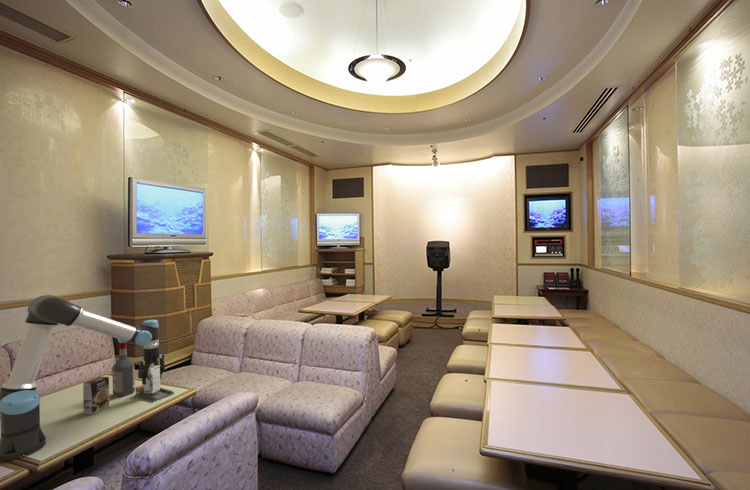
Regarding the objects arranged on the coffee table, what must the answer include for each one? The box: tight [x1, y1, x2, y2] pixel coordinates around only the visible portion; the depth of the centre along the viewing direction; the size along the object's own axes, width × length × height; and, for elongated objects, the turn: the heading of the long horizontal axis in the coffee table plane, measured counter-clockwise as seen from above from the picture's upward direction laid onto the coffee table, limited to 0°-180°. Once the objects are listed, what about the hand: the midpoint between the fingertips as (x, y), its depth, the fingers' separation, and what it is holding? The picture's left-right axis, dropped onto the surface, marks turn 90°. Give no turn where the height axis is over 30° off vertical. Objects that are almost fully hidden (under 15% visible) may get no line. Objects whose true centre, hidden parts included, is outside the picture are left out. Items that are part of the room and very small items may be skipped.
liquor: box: [111, 342, 136, 398], centre depth 202 cm, size 9×9×30 cm
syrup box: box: [144, 364, 161, 394], centre depth 200 cm, size 6×6×14 cm
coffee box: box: [82, 376, 110, 416], centre depth 182 cm, size 9×6×16 cm
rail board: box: [133, 384, 175, 403], centre depth 199 cm, size 12×18×5 cm, turn 63°
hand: (152, 387), depth 200 cm, fingers closed on syrup box, 6 cm apart
